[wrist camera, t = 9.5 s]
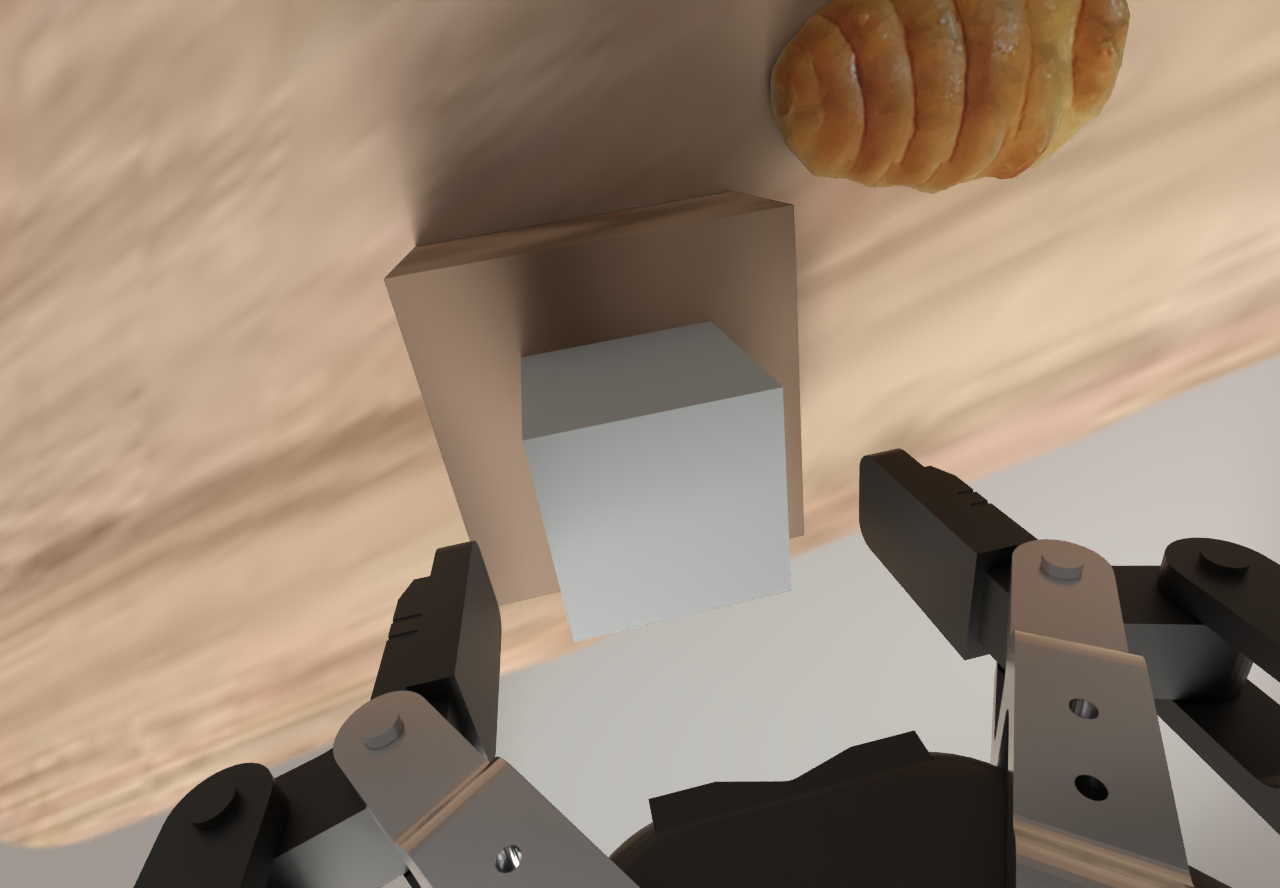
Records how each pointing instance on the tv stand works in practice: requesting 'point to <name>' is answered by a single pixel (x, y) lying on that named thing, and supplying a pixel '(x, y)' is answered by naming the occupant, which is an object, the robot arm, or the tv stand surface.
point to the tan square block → (583, 338)
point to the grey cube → (657, 476)
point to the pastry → (944, 86)
